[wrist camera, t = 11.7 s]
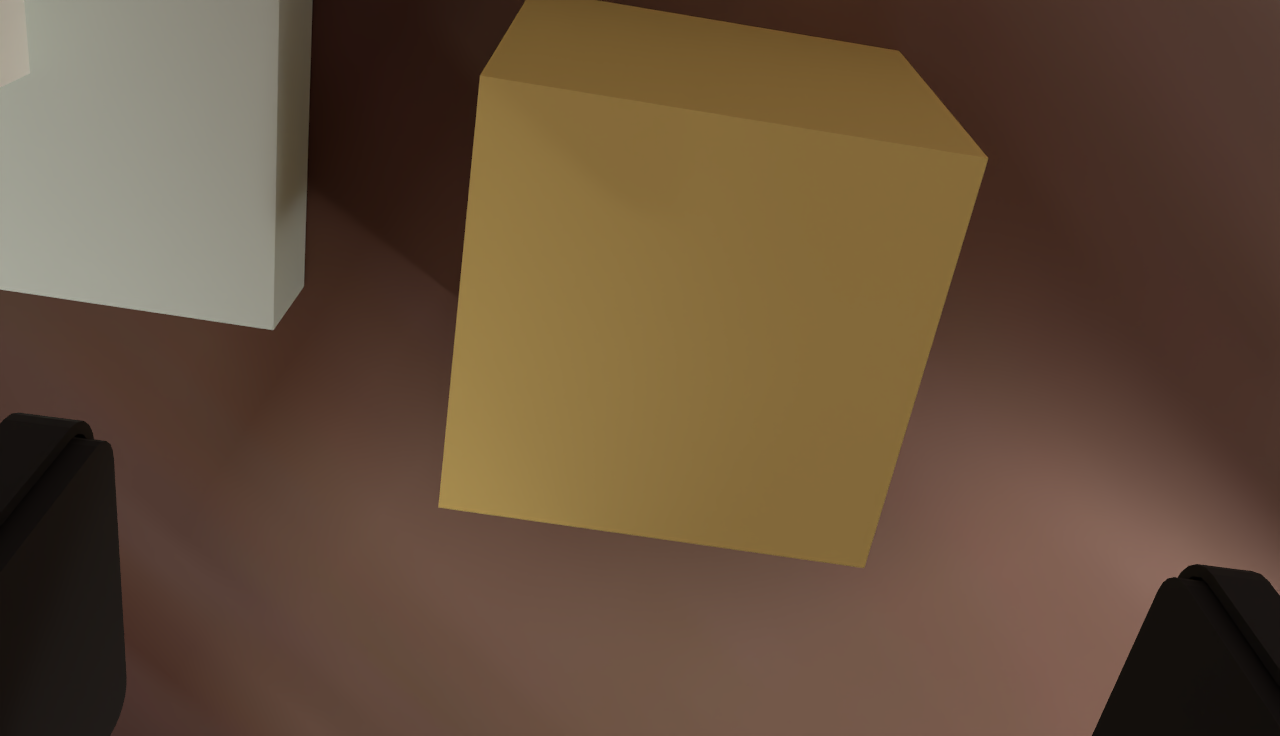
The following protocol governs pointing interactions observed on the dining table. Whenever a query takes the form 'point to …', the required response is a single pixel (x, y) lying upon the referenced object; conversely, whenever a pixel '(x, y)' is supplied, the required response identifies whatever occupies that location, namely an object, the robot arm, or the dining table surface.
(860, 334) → the mustard block
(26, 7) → the base
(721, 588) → the dining table surface
